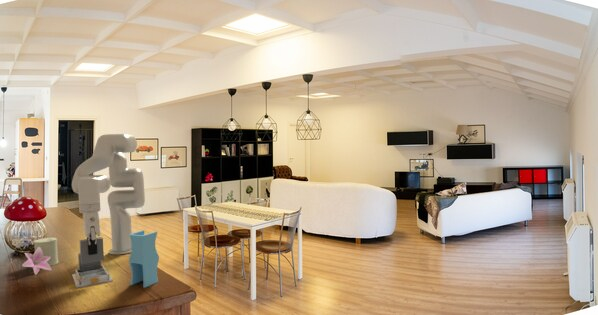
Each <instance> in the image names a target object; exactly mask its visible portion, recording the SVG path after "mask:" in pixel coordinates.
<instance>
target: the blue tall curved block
mask: <svg viewBox="0 0 598 315" xmlns="http://www.w3.org/2000/svg"><path fill="white" fill-rule="evenodd" d="M157 235H158V231H154V232H151V233H150V232H149V233H147V234H145V230H139V231H136V232H133V233H132V234H130V239H131V243H132V251H131V253H130V256H129V259H128V264H129V268H130V272H131V279H130V284H129V285H130V286H133V285H135V284H138V283H140V282H143V284H142V285H143V286H142V287H143V288H145V289H146V288H147V287H151V286H152V285H155V284H156V283H158V282H159V278H158V277H159V276H158V265H159V261H160V256H159V254H158V252H157V248H156V240H157Z"/></svg>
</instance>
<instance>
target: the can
mask: <svg viewBox="0 0 598 315" xmlns="http://www.w3.org/2000/svg"><path fill="white" fill-rule="evenodd" d="M33 243H34V252H35V251H36V250H37V248H38V247H40V248H41V250H42V252H43V256H48V257H51V258H50V259H49V260H48V261H47V263H48V264H49V265H50V267H51V266H55V265H57V264H59V256H58V254H59V253H58V238H57V237H43V238H39V239H36V240H34V241H33Z"/></svg>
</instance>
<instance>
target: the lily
mask: <svg viewBox="0 0 598 315" xmlns="http://www.w3.org/2000/svg"><path fill="white" fill-rule="evenodd" d="M24 254H25V257H26V258H27V260H25V261H24V262H23V263H22V264H21V266H22V267H25V268H27V267H28V268H30V272H32V270H33V273H34V275H37V274H39V272H40V269H43V270H46V271H52V267H51V266H50V265H49V264H48V263H47V261H48V260H49V259H50V258H51V257H48V256H43V252H42V250H41V248H40V247H38V248H37V250H36V251H35V250H34V253H33V254H32V253H30V252H24Z"/></svg>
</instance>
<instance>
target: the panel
mask: <svg viewBox="0 0 598 315" xmlns="http://www.w3.org/2000/svg"><path fill="white" fill-rule="evenodd" d="M96 243H97V254H93V255H88V245H89V243H88V239H87V238H86V239H79V251H80V252H79V253H80V257H81V264H86V263H92V262H98V261H101V262H102V261H105V255H104V253H105V252H104V238H103V236H97V237H96Z"/></svg>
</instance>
